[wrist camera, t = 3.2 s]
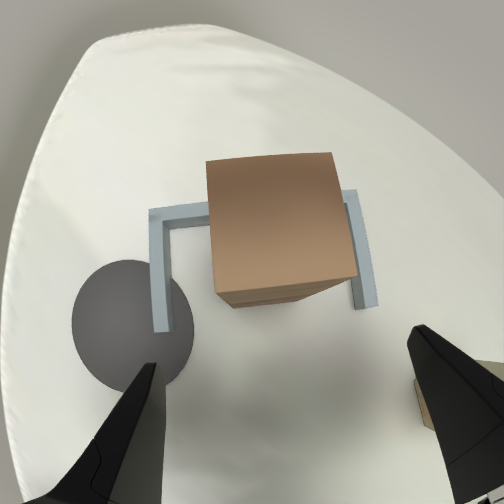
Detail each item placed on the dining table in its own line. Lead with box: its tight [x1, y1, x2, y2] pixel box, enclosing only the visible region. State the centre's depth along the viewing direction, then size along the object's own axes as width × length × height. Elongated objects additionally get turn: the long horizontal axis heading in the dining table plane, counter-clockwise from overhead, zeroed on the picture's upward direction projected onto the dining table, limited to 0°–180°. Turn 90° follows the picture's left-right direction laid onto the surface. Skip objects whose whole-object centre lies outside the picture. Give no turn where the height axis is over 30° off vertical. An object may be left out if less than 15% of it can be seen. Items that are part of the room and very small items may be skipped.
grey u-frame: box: [149, 190, 378, 333], centre depth 20 cm, size 8×15×2 cm, turn 96°
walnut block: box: [206, 152, 358, 308], centre depth 15 cm, size 4×4×12 cm
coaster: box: [72, 260, 194, 392], centre depth 20 cm, size 10×10×1 cm
